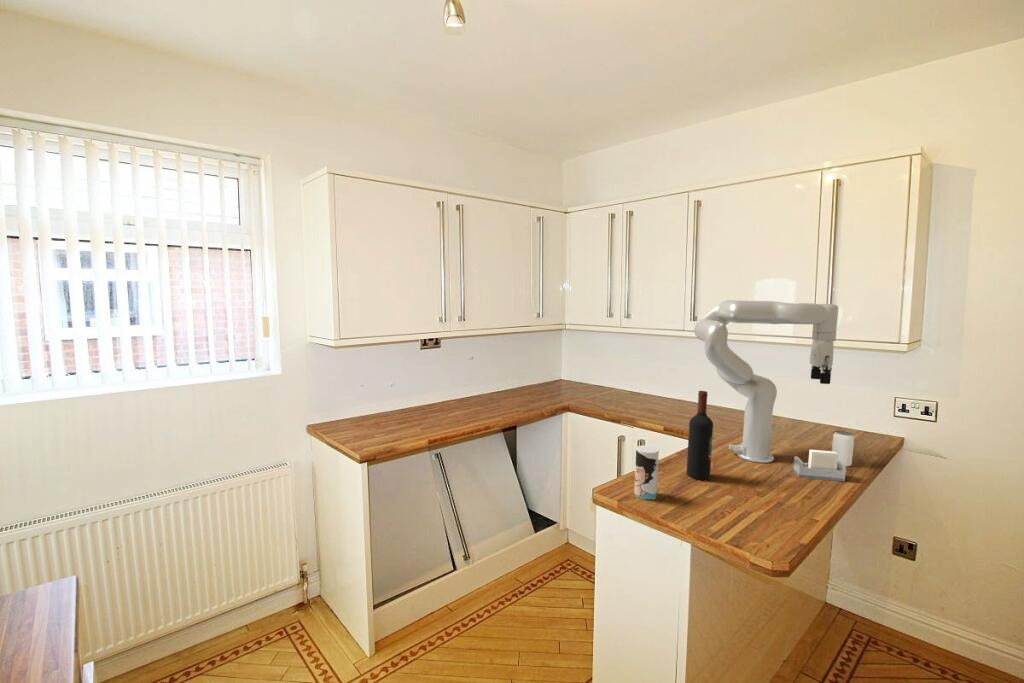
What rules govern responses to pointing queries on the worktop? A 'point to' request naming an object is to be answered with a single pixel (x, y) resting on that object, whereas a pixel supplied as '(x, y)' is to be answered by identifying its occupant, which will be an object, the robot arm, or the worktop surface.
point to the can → (843, 446)
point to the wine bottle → (700, 442)
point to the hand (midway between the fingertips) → (820, 381)
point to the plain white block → (823, 459)
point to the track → (819, 471)
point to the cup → (646, 472)
